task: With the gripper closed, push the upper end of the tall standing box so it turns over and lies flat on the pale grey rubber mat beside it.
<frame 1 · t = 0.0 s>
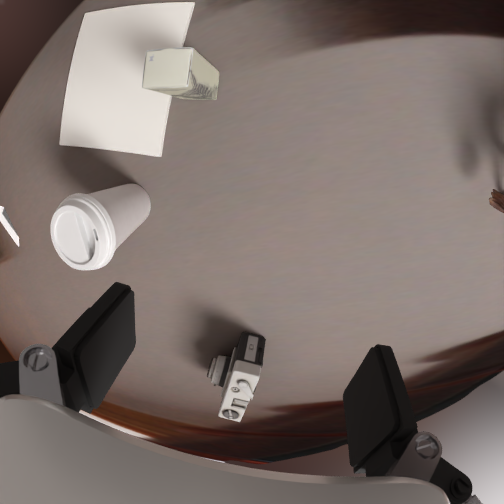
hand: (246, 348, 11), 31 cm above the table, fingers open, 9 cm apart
mat: (117, 74, 34), on the table
camera: (235, 357, 52), on the table
coffee cup: (133, 203, 43), on the table
box: (202, 84, 35), on the table
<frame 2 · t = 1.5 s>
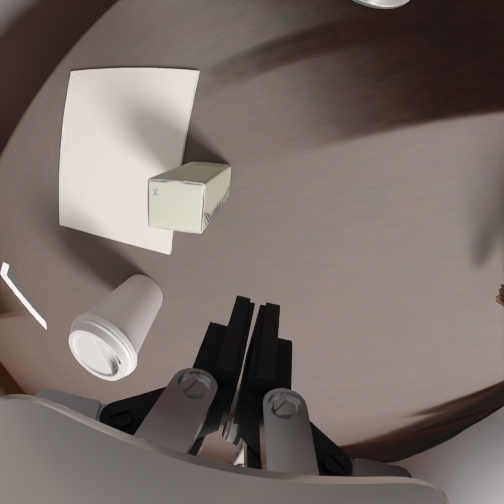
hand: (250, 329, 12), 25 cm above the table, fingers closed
mat: (114, 155, 35), on the table
camera: (247, 416, 53), on the table
coffee cup: (144, 292, 43), on the table
box: (211, 179, 35), on the table
white l-shaped strip: (55, 302, 48), on the table
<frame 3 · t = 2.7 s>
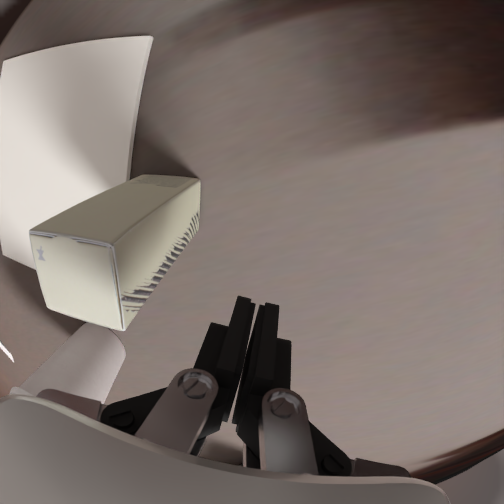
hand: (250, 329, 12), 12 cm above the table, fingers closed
mat: (47, 167, 22), on the table
coffee cup: (103, 342, 31), on the table
box: (173, 200, 22), on the table
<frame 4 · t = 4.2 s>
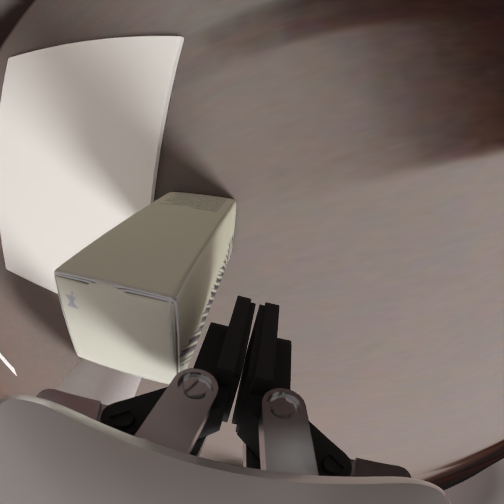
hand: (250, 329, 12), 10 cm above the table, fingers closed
mat: (57, 178, 21), on the table
coffee cup: (117, 363, 29), on the table
box: (203, 221, 21), on the table
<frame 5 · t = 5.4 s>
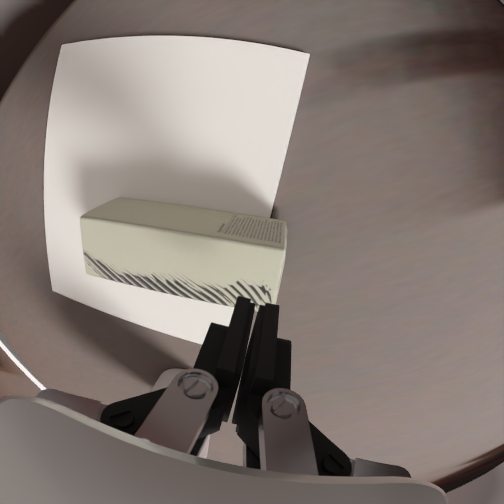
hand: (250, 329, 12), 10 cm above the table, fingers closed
mat: (137, 193, 21), on the table
coffee cup: (187, 387, 29), on the table
box: (286, 265, 18), point 3 cm above the table, touching mat
white l-shaped strip: (57, 372, 34), on the table
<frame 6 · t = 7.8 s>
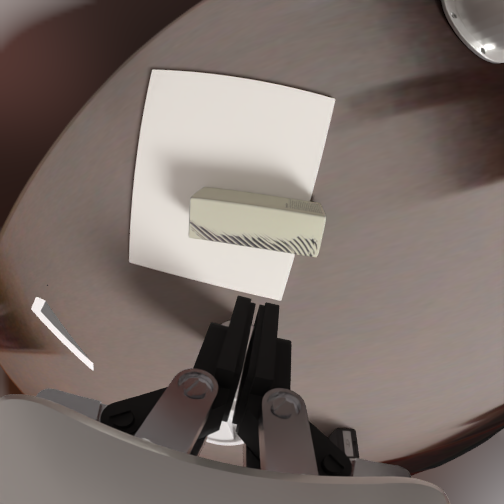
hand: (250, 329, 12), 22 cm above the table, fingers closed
mat: (218, 184, 32), on the table
camera: (323, 443, 49), on the table
coffee cup: (238, 337, 40), on the table
box: (322, 229, 29), point 3 cm above the table, touching mat
white l-shaped strip: (109, 344, 44), on the table
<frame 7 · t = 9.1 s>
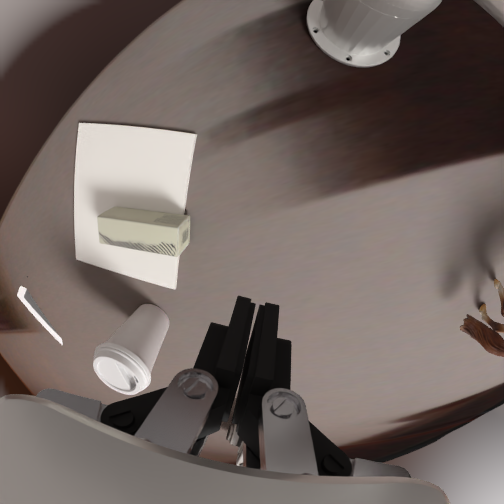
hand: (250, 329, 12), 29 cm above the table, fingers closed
mat: (124, 204, 42), on the table
camera: (248, 421, 60), on the table
coffee cup: (153, 318, 50), on the table
box: (186, 236, 39), point 3 cm above the table, touching mat
white l-shaped strip: (71, 322, 55), on the table
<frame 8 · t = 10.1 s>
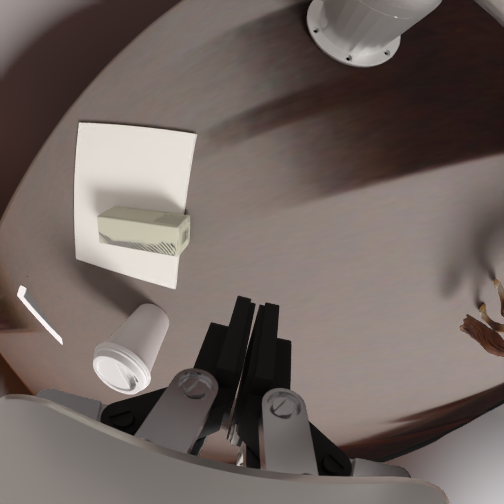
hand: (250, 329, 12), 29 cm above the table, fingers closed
mat: (124, 204, 42), on the table
camera: (248, 421, 60), on the table
coffee cup: (153, 317, 50), on the table
box: (186, 235, 39), point 3 cm above the table, touching mat
white l-shaped strip: (71, 322, 55), on the table
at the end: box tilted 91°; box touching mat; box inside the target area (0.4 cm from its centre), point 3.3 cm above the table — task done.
